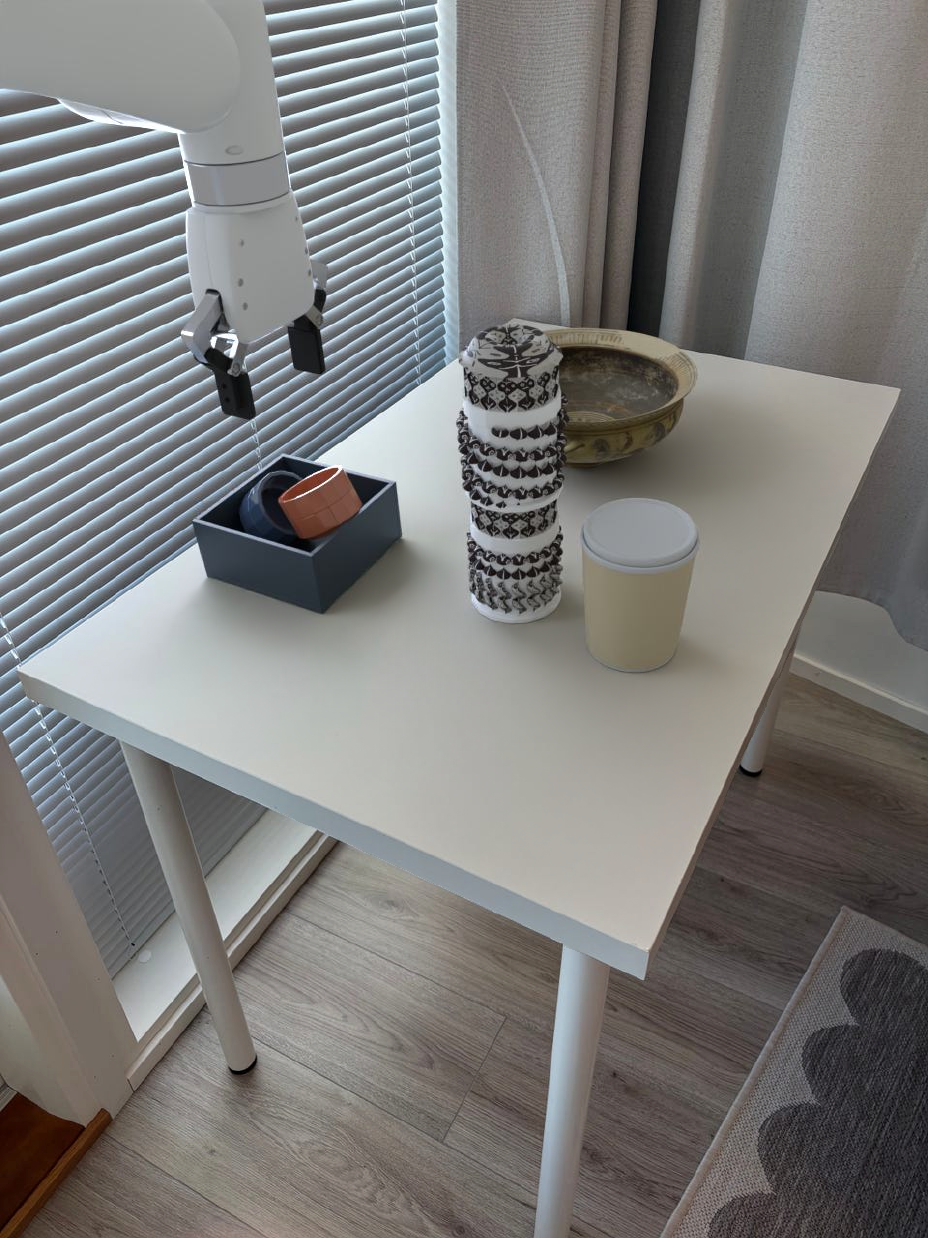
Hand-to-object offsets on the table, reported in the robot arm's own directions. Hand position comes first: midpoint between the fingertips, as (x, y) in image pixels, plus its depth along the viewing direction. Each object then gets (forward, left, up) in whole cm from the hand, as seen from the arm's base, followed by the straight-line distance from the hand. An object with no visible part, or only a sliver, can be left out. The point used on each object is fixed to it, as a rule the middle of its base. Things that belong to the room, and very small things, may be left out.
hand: (276, 392), depth 82 cm
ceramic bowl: (+34, +12, -19) cm, 40 cm away
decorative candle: (+18, -11, -19) cm, 28 cm away
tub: (0, +2, -19) cm, 19 cm away
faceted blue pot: (-3, +6, -16) cm, 17 cm away
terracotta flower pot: (+3, 0, -14) cm, 14 cm away
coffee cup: (+25, -21, -19) cm, 38 cm away
